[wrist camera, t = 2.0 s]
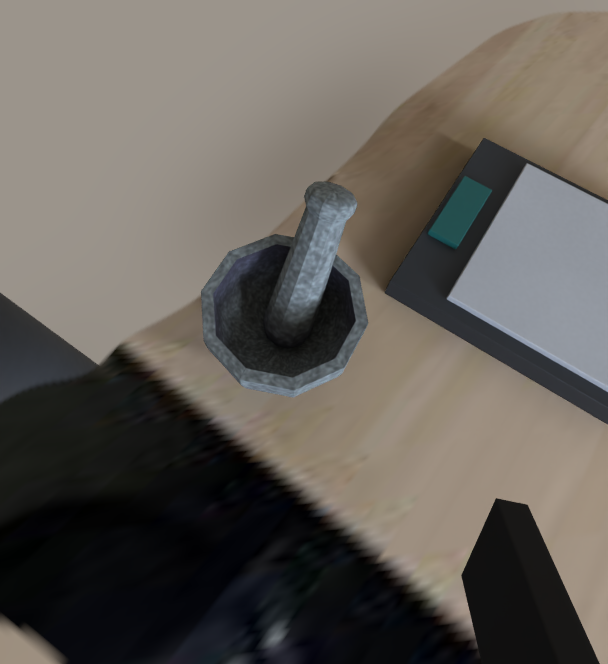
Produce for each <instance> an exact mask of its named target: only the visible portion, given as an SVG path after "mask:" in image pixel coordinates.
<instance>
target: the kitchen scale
mask: <svg viewBox="0 0 608 664" xmlns="http://www.w3.org/2000/svg"><path fill="white" fill-rule="evenodd" d="M385 293H386V294H387V295H389V296H391V297H393V298H394V299H396V300H398V301H399V302H401V303H403V304H404V305H406V306H408V307H410V308H411V309H413V310H415V311H416V312H418V313H420V314H421V315H423V316H425V317H427V318H428V319H430V320H432V321H433V322H435V323H437V324H438V325H440V326H442V327H444V328H445V329H447V330H449V331H450V332H452V333H454V334H455V335H457V336H459V337H461V338H462V339H464V340H466V341H467V342H469V343H471V344H472V345H474V346H476V347H477V348H479V349H481V350H483V351H484V352H486V353H488V354H489V355H491V356H493V357H494V358H496V359H498V360H500V361H501V362H503V363H505V364H506V365H508V366H510V367H511V368H513V369H515V370H517V371H518V372H520V373H522V374H523V375H525V376H527V377H528V378H530V379H532V380H534V381H535V382H537V383H539V384H540V385H542V386H544V387H545V388H547V389H549V390H551V391H552V392H554V393H556V394H557V395H559V396H561V397H562V398H564V399H566V400H567V401H569V402H571V403H573V404H574V405H576V406H578V407H579V408H581V409H583V410H584V411H586V412H588V413H590V414H591V415H593V416H595V417H596V418H598V419H600V420H601V421H603V422H605V423H607V424H608V200H606V199H604V198H602V197H600V196H598V195H596V194H594V193H592V192H590V191H588V190H586V189H584V188H582V187H580V186H578V185H576V184H574V183H572V182H570V181H569V180H567V179H565V178H563V177H561V176H559V175H557V174H555V173H553V172H551V171H549V170H547V169H545V168H543V167H541V166H539V165H537V164H535V163H533V162H531V161H529V160H527V159H525V158H523V157H521V156H519V155H517V154H515V153H513V152H511V151H509V150H507V149H505V148H503V147H501V146H499V145H497V144H495V143H493V142H491V141H490V140H488V139H486V138H483V140H482V141H481V143H480V144H479V146H478V147H477V149H476V150H475V152H474V154H473V155H472V157H471V158H470V160H469V161H468V163H467V164H466V166H465V167H464V169H463V170H462V172H461V173H460V175H459V176H458V178H457V179H456V181H455V183H454V184H453V186H452V187H451V189H450V190H449V192H448V193H447V195H446V196H445V198H444V199H443V201H442V202H441V204H440V205H439V207H438V209H437V210H436V212H435V213H434V215H433V216H432V218H431V219H430V221H429V222H428V224H427V225H426V227H425V228H424V230H423V231H422V233H421V234H420V236H419V238H418V239H417V241H416V242H415V244H414V245H413V247H412V248H411V250H410V251H409V253H408V254H407V256H406V257H405V259H404V260H403V262H402V263H401V265H400V267H399V268H398V270H397V271H396V273H395V274H394V276H393V277H392V279H391V280H390V282H389V284H388V286H387V288H386V291H385Z"/></svg>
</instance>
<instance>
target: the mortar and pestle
mask: <svg viewBox="0 0 608 664" xmlns="http://www.w3.org/2000/svg"><path fill="white" fill-rule="evenodd" d="M304 198H305V202H306V208H305V211H304V214H303V216H302V219H301V221H300V224H299V227H298V229H297V232H296V234H295V237H289V236H283V235H278V234H274V235H271V236H269V237H266V238H264V239H261V240H258V241H256V242H253V243H251V244H248V245H246V246H243V247H240V248H237V249H235V250H232V251H229V252H228V254H227V256H226V257H225V258H224V259H223V261H222V262H221V264H220V265H219V267H218V268H217V269H216V271H215V272H214V274H213V275H212V277H211V278H210V279H209V281H208V282H207V284H206V285H205V286H204V288H203V289H202V291H201V300H202V318H203V336H204V342H205V344H206V346H207V348H208V349H209V350H210V351H211V352H212V354H213V355H214V356H215V357H216V358H217V359H218V360H219V361H220V362H221V363H222V365H223V366H224V367H225V368H226V369H227V370H228V371H229V372H230V373H231V374H232V376H233V377H234V378H235V379H236V380H237V381H238V382H239V383H240V384H241V385H242V386H243V387H245V388H248V389H253V390H258V391H264V392H269V393H274V394H279V395H284V396H289V397H295V396H297V395H299V394H301V393H303V392H306V391H308V390H310V389H312V388H314V387H317V386H319V385H321V384H323V383H325V382H328V381H330V380H332V379H334V378H336V377H338V376H339V375H341V374H342V372H343V370H344V368H345V367H346V365H347V363H348V361H349V359H350V357H351V355H352V354H353V352H354V350H355V348H356V346H357V344H358V342H359V340H360V339H361V337H362V335H363V333H364V331H365V329H366V327H367V325H368V319H367V314H366V309H365V303H364V298H363V293H362V288H361V282H360V277H359V275H358V274H357V273H355V272H354V271H353V270H352V269H351V268H350V267H349V266H348V265H347V264H346V263H345V262H344V261H343V260H342V259H340V258H339V257H338V256H337V255H336V252H337V249H338V246H339V243H340V239H341V236H342V233H343V230H344V226H345V223H346V220H348V219H349V218H350V217H351V216H352V215H353V214H354V212H355V210H356V207H357V201H356V199H355V197H354V196H353V194H352V193H351V192H350V191H348V190H347V189H345V188H344V187H342V186H340V185H337V184H334V183H331V182H314V183H313V184H312V185H310V186H309V187H308V188H307V190H306V193H305V196H304Z"/></svg>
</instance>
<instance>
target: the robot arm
mask: <svg viewBox="0 0 608 664" xmlns="http://www.w3.org/2000/svg"><path fill="white" fill-rule="evenodd" d="M461 576H462V580H463V584H464V589H465V593H466V597H467V602H468V606H469V610H470V614H471V619H472V623H473V627H474V632H475V636H476V640H477V645H478V649H479V653H480V657H481V662H482V664H600V663H599V661H598V659H597V657H596V655H595V652H594V650H593V648H592V646H591V644H590V641H589V639H588V637H587V635H586V633H585V630H584V628H583V626H582V624H581V622H580V619H579V617H578V615H577V613H576V611H575V608H574V606H573V604H572V602H571V600H570V597H569V595H568V593H567V591H566V589H565V586H564V584H563V582H562V580H561V578H560V575H559V573H558V571H557V569H556V567H555V564H554V562H553V560H552V558H551V556H550V553H549V551H548V549H547V547H546V544H545V542H544V540H543V538H542V536H541V533H540V531H539V529H538V527H537V525H536V522H535V520H534V518H533V516H532V514H531V511H530V509H529V507H528V505H526V504H521V503H516V502H511V501H506V500H502V499H497V498H496V500H495V502H494V504H493V506H492V508H491V511H490V513H489V515H488V517H487V520H486V522H485V524H484V526H483V528H482V531H481V533H480V535H479V537H478V540H477V542H476V544H475V546H474V548H473V551H472V553H471V555H470V557H469V560H468V562H467V564H466V566H465V568H464V571H463V573H462V575H461Z"/></svg>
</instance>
